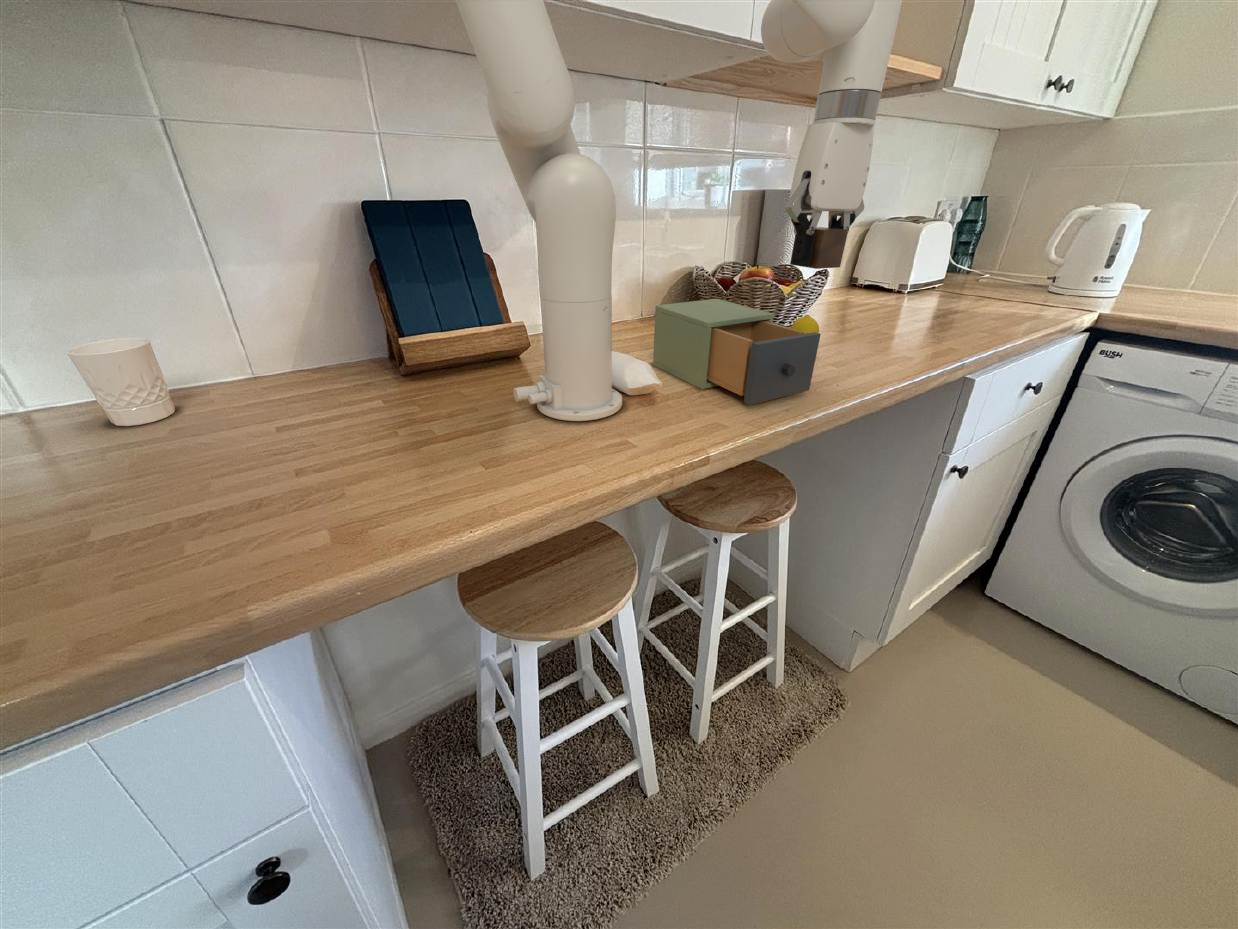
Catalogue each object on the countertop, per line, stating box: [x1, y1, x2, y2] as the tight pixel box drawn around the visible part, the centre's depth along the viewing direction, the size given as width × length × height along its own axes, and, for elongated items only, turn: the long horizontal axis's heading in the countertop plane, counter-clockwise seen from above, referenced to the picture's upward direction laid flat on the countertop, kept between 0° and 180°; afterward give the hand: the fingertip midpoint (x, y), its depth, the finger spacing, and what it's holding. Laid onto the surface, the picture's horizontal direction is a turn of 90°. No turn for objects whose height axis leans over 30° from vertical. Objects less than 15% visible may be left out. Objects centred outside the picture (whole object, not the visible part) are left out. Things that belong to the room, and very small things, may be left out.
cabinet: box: [652, 298, 775, 390], centre depth 85 cm, size 15×14×11 cm
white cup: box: [66, 337, 176, 427], centre depth 66 cm, size 8×8×10 cm
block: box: [789, 226, 849, 270], centre depth 71 cm, size 5×5×5 cm
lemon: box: [790, 314, 820, 334], centre depth 93 cm, size 6×6×8 cm
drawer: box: [707, 320, 822, 405], centre depth 77 cm, size 15×12×9 cm
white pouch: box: [612, 350, 663, 396], centre depth 76 cm, size 6×12×6 cm, turn 35°
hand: (815, 262), depth 72 cm, fingers closed on block, 5 cm apart
